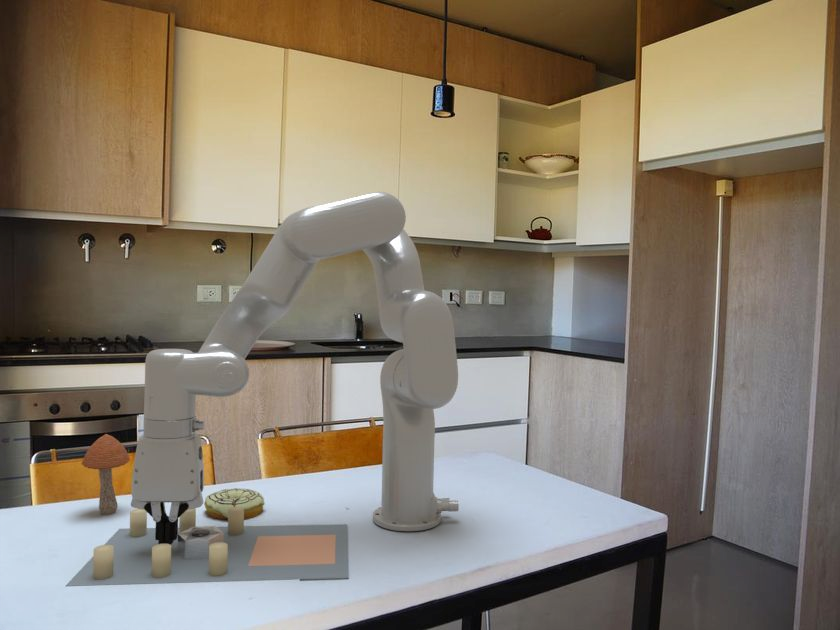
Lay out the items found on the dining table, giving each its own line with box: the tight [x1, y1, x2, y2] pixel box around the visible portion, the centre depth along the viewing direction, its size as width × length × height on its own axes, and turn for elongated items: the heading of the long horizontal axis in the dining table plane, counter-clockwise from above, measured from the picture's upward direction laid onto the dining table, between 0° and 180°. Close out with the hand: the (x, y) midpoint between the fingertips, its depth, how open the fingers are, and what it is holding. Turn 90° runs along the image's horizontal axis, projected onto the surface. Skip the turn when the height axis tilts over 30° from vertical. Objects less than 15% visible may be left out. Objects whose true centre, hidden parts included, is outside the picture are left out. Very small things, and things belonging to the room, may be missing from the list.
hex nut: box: [178, 525, 223, 560], centre depth 102 cm, size 7×6×3 cm
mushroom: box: [81, 433, 131, 516], centre depth 118 cm, size 8×8×15 cm
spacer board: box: [65, 507, 349, 587], centre depth 102 cm, size 39×22×4 cm, turn 97°
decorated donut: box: [203, 487, 266, 521], centre depth 121 cm, size 10×11×4 cm
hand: (166, 544), depth 101 cm, fingers closed
